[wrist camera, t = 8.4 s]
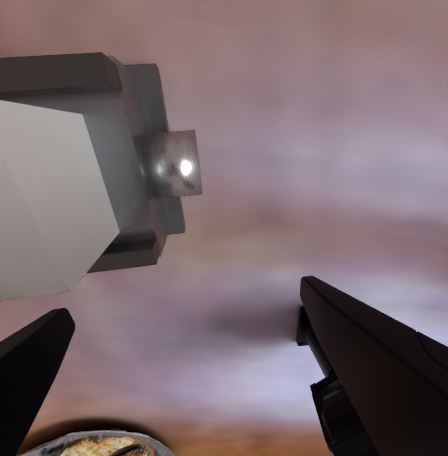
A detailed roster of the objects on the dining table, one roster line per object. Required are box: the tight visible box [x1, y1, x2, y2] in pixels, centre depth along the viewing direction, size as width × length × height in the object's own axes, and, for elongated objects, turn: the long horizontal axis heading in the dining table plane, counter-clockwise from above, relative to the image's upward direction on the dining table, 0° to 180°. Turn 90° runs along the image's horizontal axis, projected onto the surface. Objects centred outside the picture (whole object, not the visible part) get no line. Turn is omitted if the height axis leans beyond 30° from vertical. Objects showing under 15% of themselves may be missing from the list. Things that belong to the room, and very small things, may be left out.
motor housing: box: [0, 52, 203, 273], centre depth 13 cm, size 12×14×8 cm
